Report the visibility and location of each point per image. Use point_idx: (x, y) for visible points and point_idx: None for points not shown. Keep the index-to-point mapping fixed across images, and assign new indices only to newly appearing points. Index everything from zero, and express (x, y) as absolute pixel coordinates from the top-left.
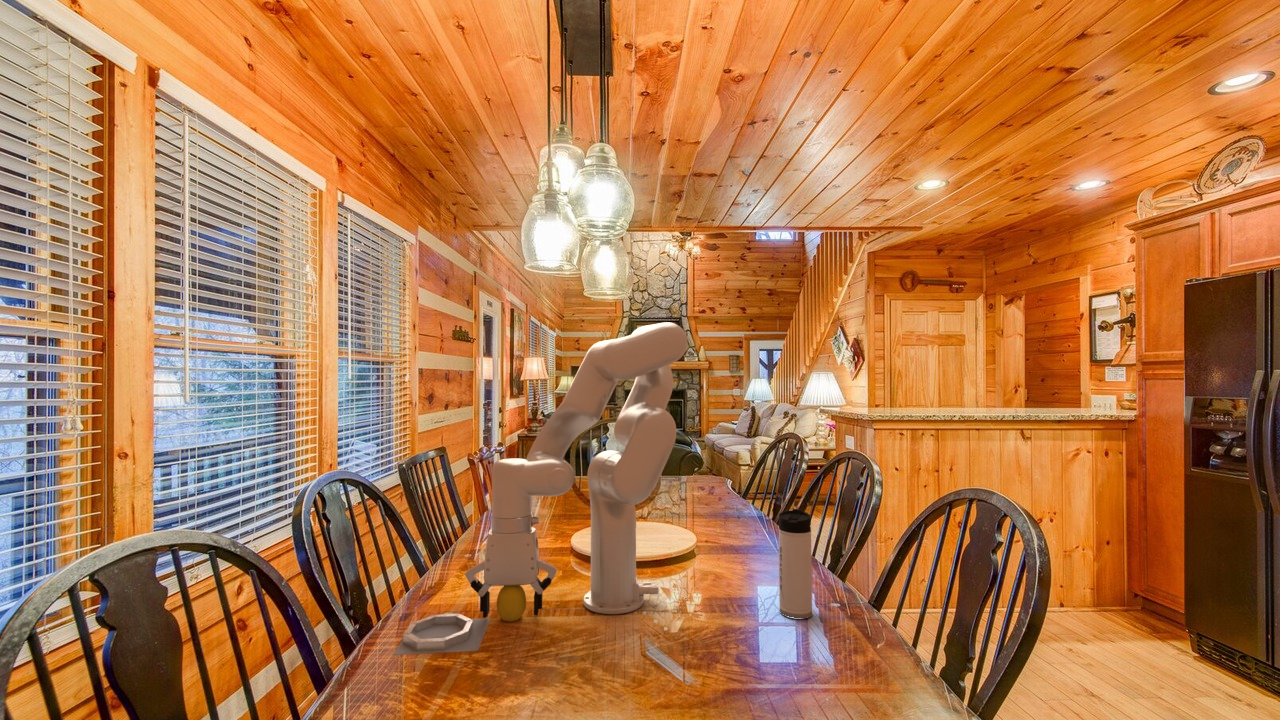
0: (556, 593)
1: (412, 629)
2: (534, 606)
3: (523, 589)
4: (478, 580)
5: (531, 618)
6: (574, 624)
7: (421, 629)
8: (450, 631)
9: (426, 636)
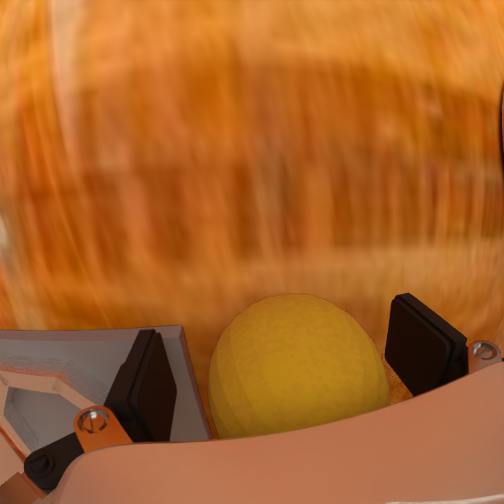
0: (405, 11)
1: (21, 440)
2: (403, 380)
3: (389, 404)
4: (57, 478)
5: (354, 268)
6: (472, 305)
7: (13, 393)
8: None
9: (52, 427)
